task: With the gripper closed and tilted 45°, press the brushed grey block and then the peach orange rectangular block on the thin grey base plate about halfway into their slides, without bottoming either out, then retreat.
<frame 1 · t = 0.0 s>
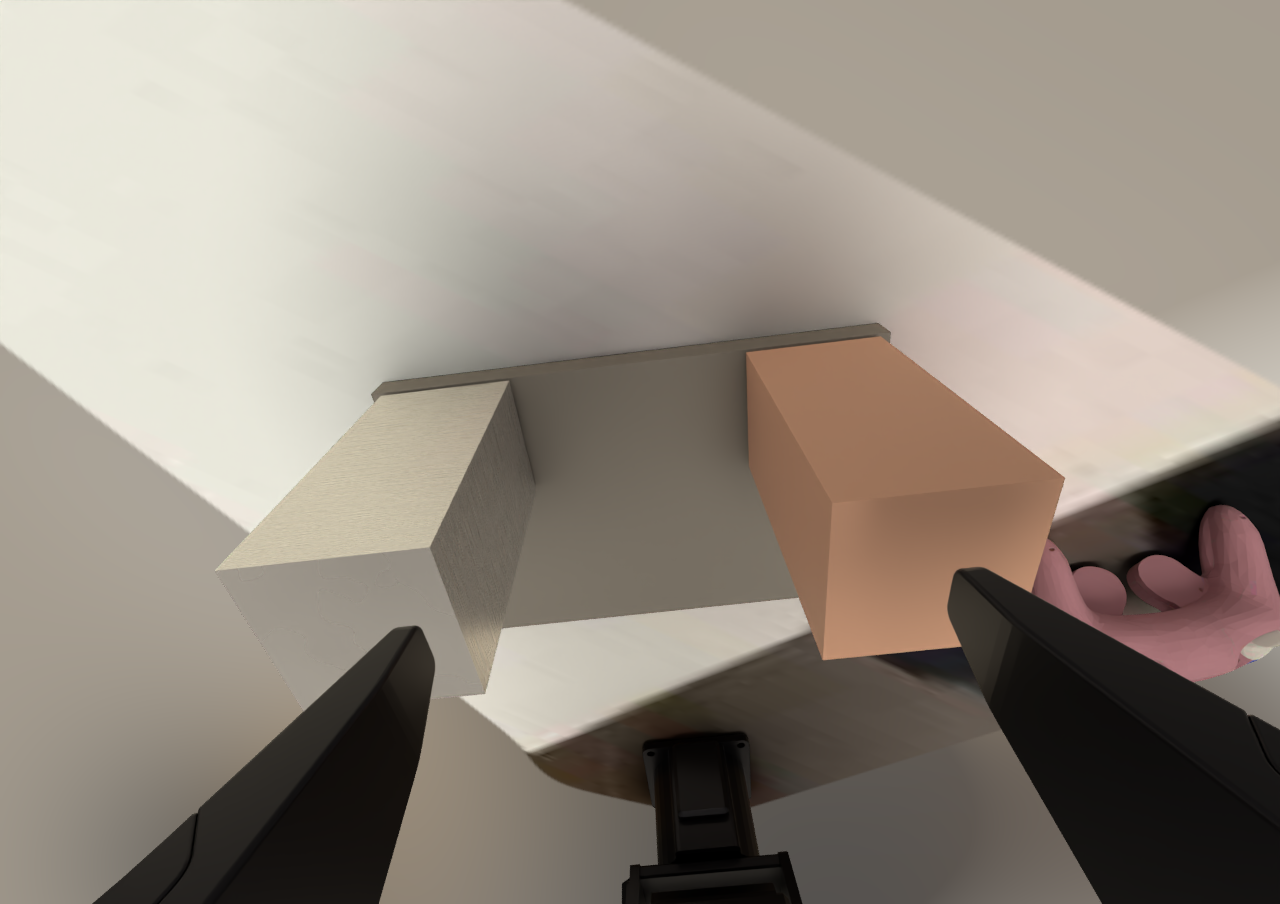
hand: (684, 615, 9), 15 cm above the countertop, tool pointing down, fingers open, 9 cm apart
thin grey base plate: (644, 488, 26), on the countertop
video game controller: (1107, 556, 29), on the countertop
peach orange rectangular block: (856, 470, 18), point 6 cm above the countertop, slide at 0.0 cm
brushed grey block: (423, 518, 18), point 6 cm above the countertop, slide at 0.0 cm
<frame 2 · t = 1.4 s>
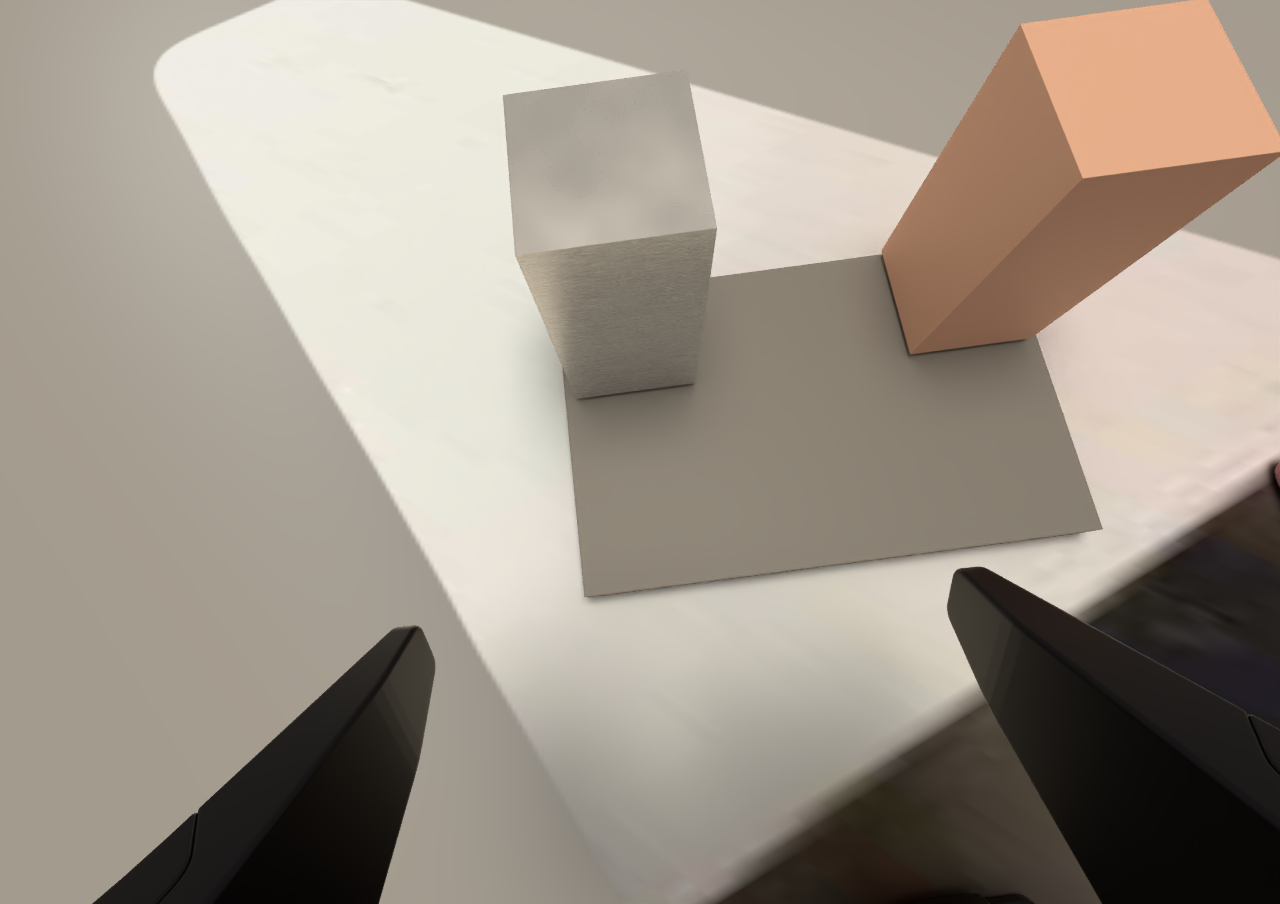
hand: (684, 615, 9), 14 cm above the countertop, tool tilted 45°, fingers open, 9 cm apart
thin grey base plate: (801, 414, 24), on the countertop
peach orange rectangular block: (1026, 215, 19), point 6 cm above the countertop, slide at 0.0 cm
brushed grey block: (619, 269, 19), point 6 cm above the countertop, slide at 0.0 cm
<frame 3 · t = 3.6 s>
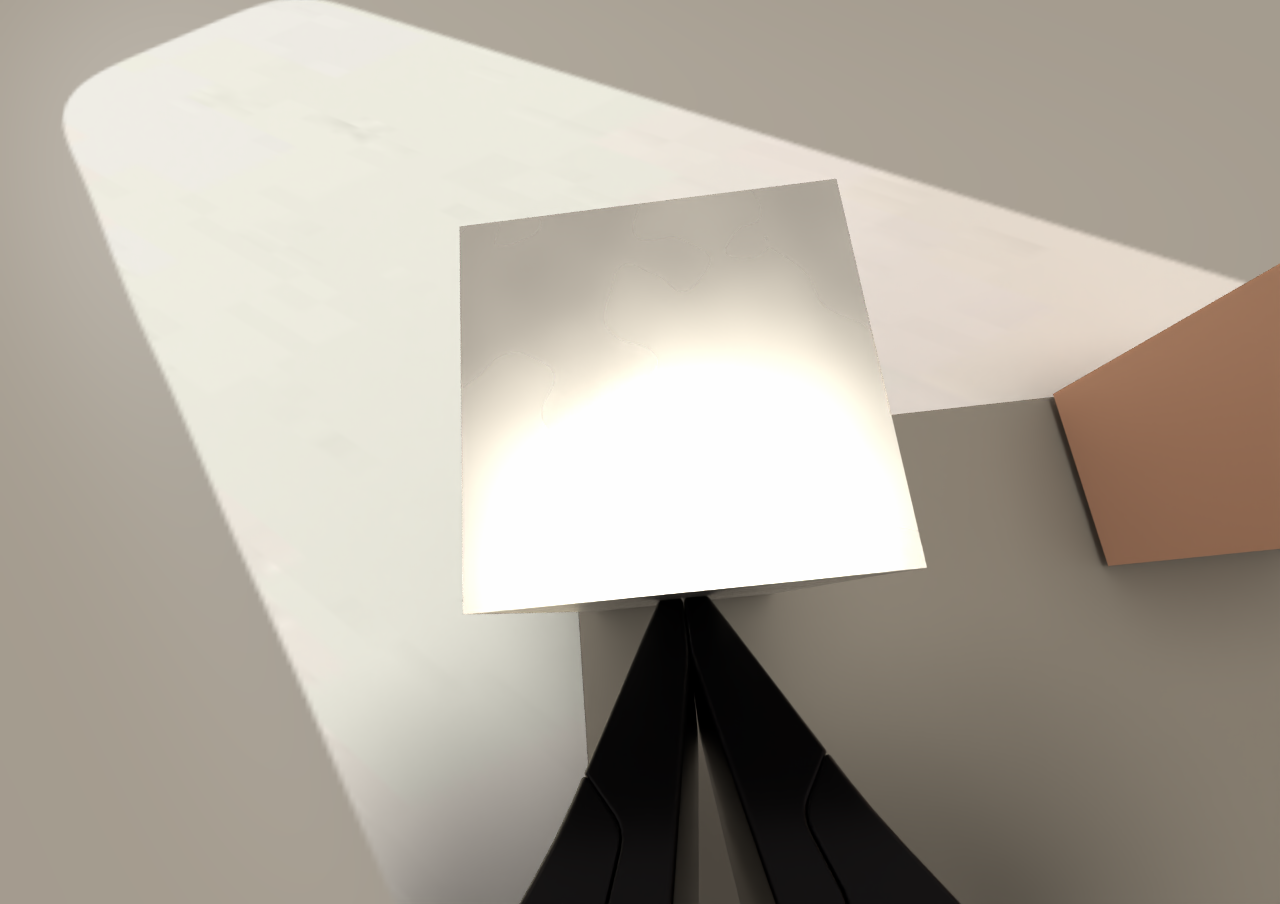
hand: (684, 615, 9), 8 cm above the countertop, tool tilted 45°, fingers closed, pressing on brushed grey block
thin grey base plate: (928, 637, 16), on the countertop
brushed grey block: (671, 474, 12), point 6 cm above the countertop, slide at 0.2 cm, touching gripper
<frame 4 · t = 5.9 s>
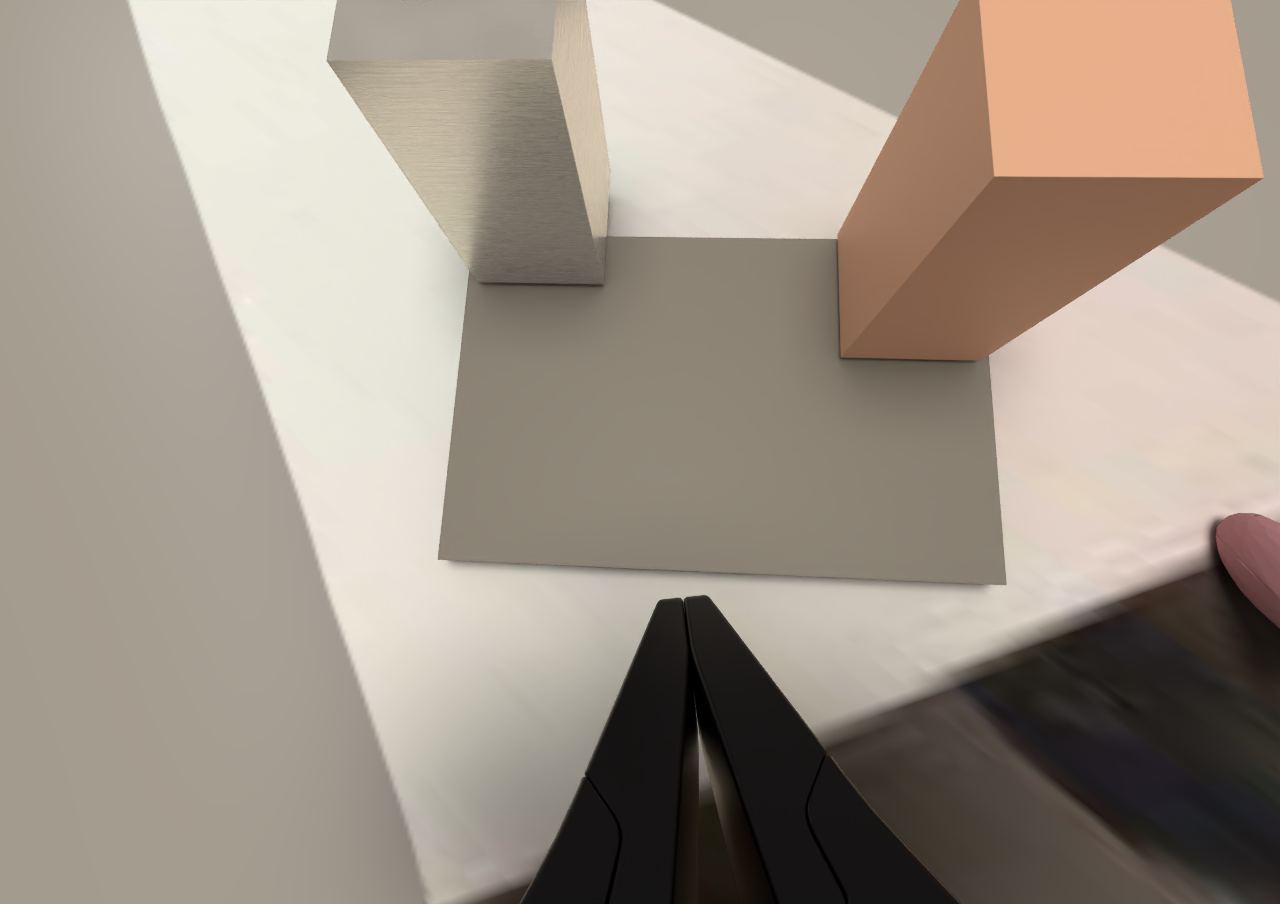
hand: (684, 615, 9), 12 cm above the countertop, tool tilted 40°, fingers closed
thin grey base plate: (714, 404, 22), on the countertop
peach orange rectangular block: (978, 216, 16), point 6 cm above the countertop, slide at 0.0 cm
brushed grey block: (510, 131, 18), point 7 cm above the countertop, slide at 2.8 cm
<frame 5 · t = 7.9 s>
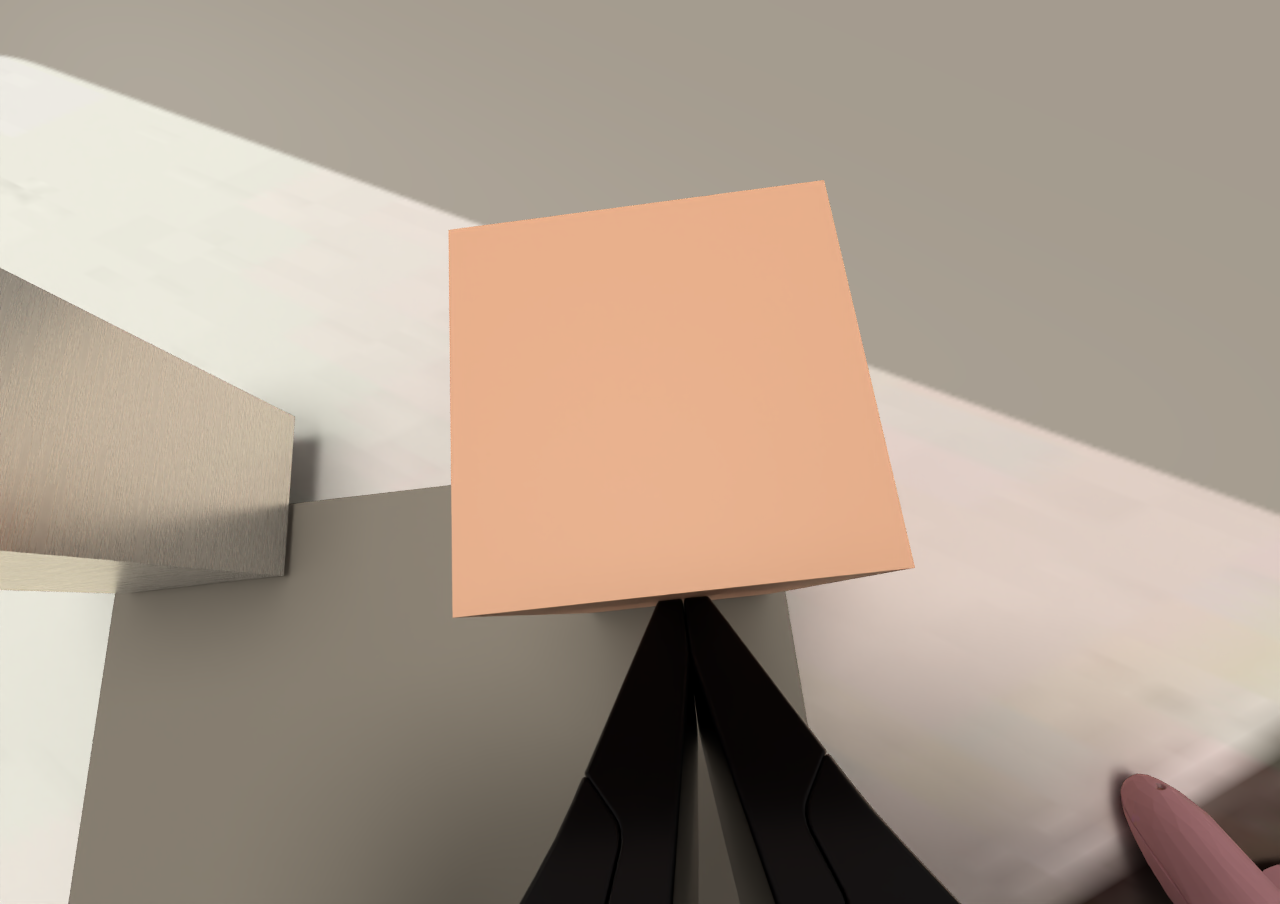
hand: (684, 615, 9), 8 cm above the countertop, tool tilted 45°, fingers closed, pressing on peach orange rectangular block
thin grey base plate: (454, 707, 17), on the countertop
peach orange rectangular block: (664, 475, 12), point 7 cm above the countertop, slide at 0.8 cm, touching gripper
brushed grey block: (32, 460, 13), point 7 cm above the countertop, slide at 2.8 cm
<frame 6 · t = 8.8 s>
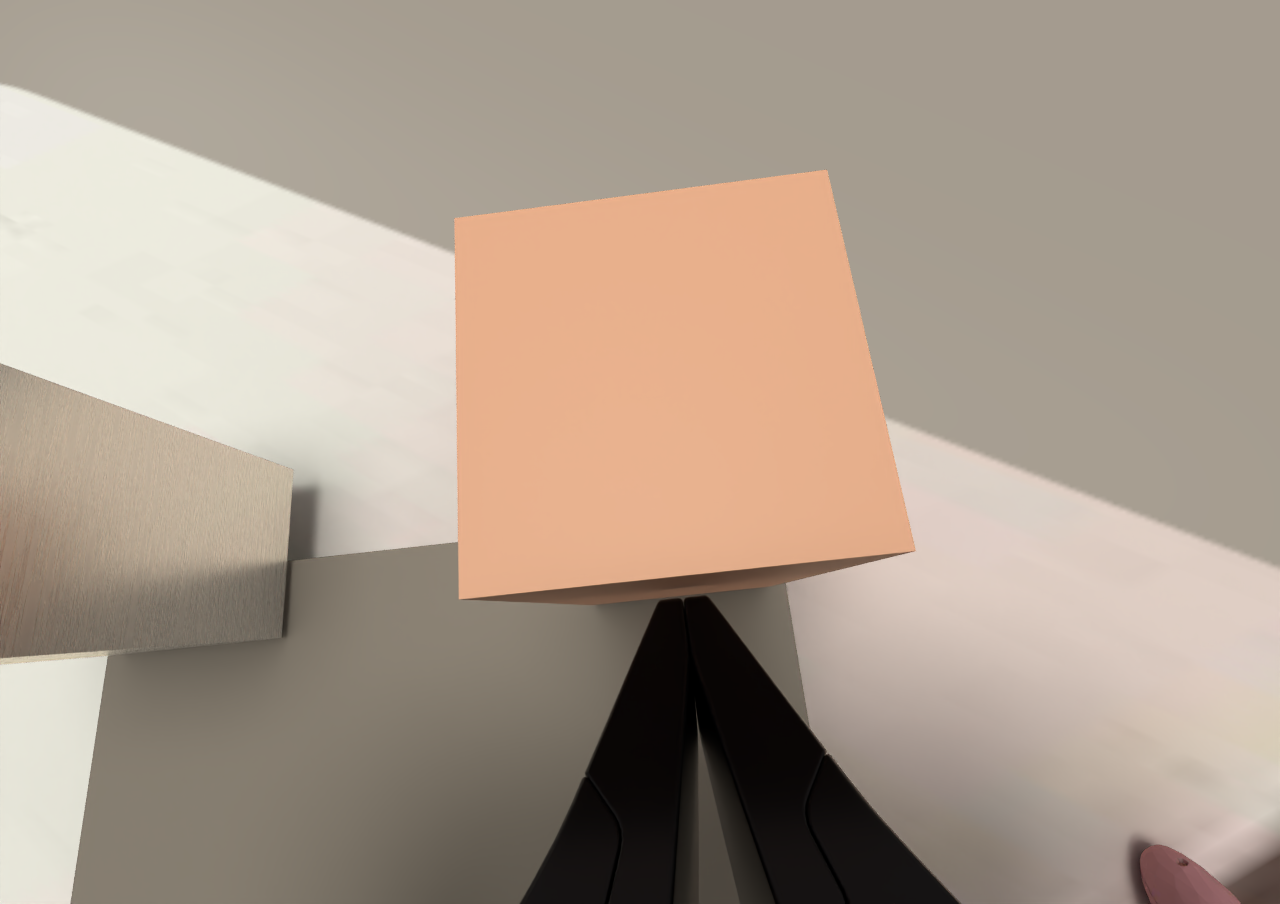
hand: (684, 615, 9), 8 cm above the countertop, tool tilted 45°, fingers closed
thin grey base plate: (456, 774, 16), on the countertop
peach orange rectangular block: (666, 466, 12), point 6 cm above the countertop, slide at 2.8 cm
brushed grey block: (20, 539, 12), point 6 cm above the countertop, slide at 2.8 cm
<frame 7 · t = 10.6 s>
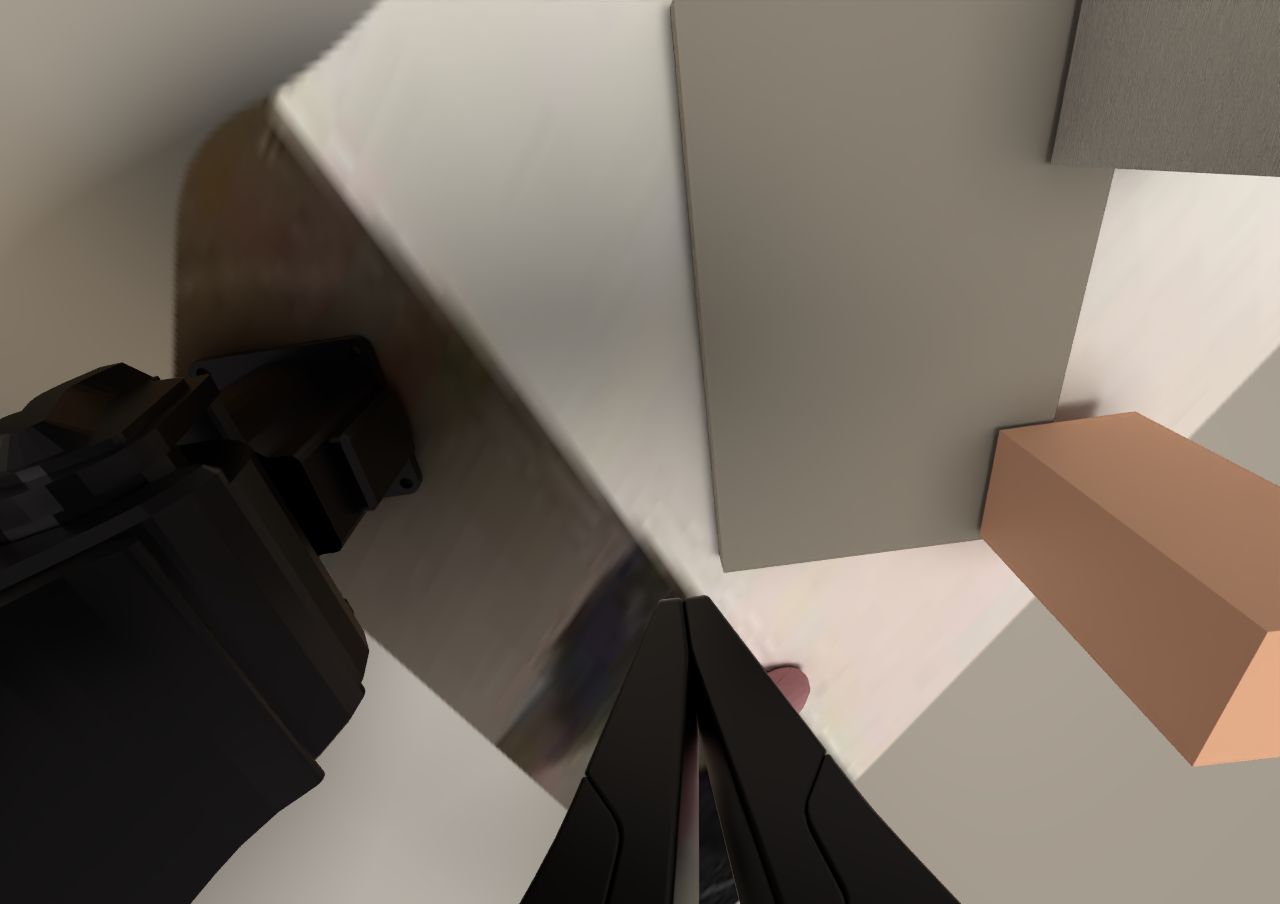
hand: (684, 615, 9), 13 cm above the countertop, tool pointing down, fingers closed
thin grey base plate: (877, 318, 21), on the countertop
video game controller: (757, 721, 32), on the countertop
peach orange rectangular block: (1158, 558, 18), point 6 cm above the countertop, slide at 2.8 cm
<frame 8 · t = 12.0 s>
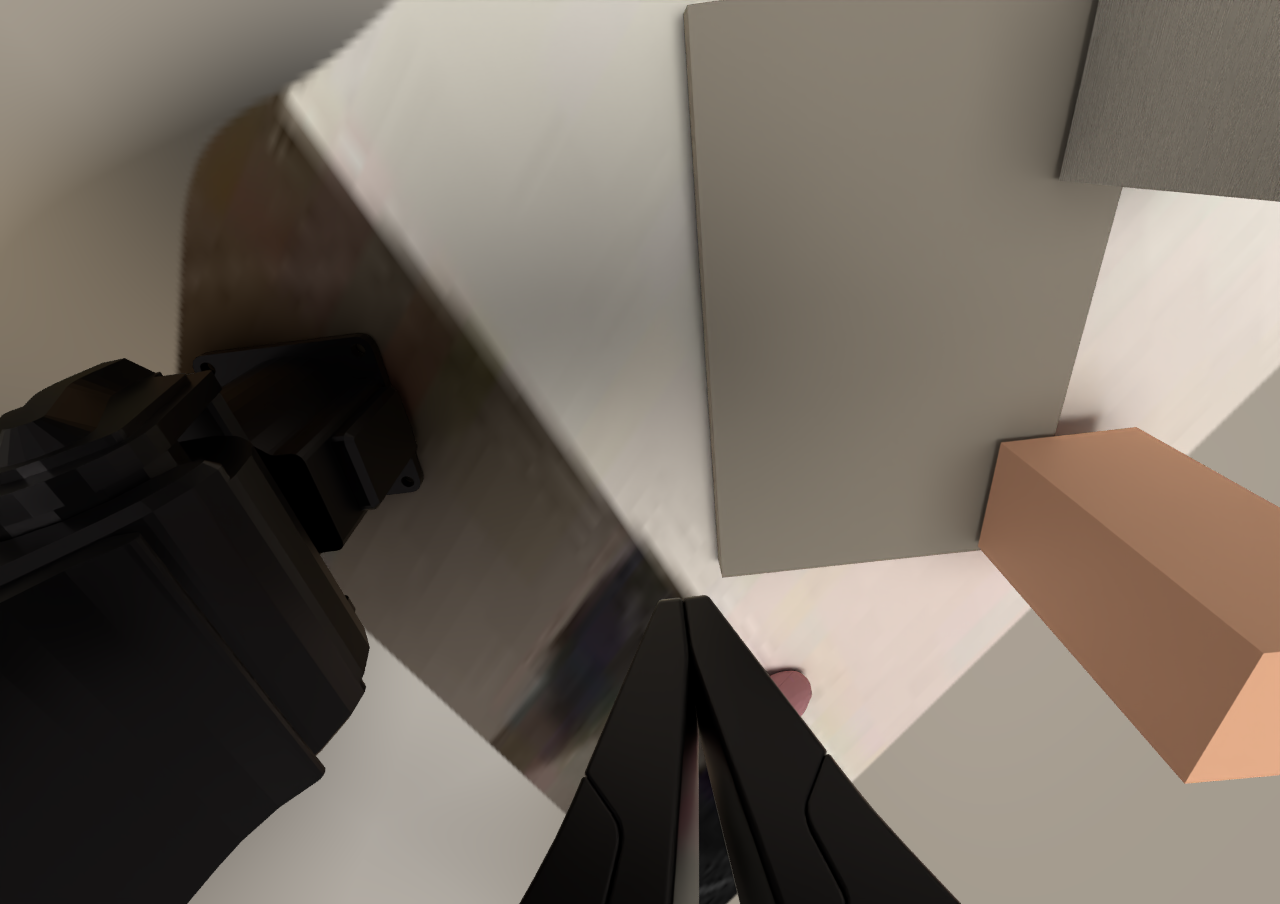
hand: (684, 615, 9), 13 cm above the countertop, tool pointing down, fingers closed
thin grey base plate: (882, 328, 21), on the countertop
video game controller: (758, 723, 32), on the countertop
peach orange rectangular block: (1156, 575, 18), point 6 cm above the countertop, slide at 2.8 cm
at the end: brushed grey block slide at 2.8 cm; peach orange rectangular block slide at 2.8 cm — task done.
